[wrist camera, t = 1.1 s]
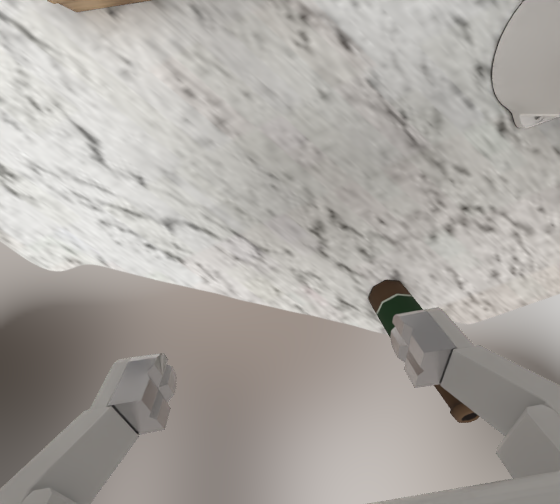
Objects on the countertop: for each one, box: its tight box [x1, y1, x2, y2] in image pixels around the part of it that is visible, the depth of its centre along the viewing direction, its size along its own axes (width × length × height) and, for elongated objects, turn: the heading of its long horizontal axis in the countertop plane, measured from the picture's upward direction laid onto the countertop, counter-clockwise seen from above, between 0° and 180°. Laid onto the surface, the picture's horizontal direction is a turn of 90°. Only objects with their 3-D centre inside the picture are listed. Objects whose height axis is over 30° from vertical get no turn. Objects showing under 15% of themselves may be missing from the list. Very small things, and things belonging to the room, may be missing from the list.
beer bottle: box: [369, 280, 480, 423], centre depth 42 cm, size 8×8×24 cm
